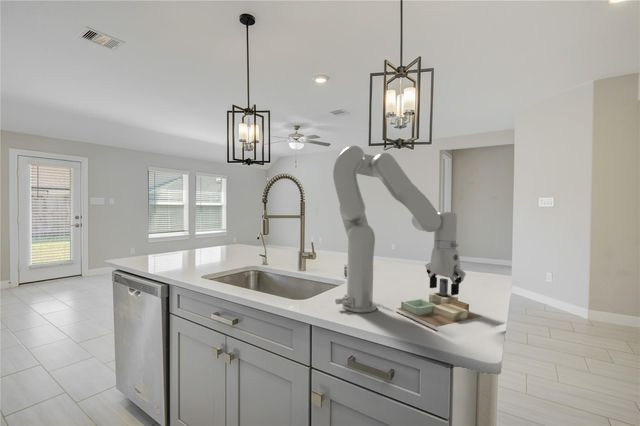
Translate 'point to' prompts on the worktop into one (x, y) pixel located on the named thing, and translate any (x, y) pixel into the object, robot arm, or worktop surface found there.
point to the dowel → (443, 287)
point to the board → (440, 320)
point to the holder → (441, 299)
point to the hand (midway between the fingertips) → (443, 291)
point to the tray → (417, 307)
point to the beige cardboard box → (450, 312)
